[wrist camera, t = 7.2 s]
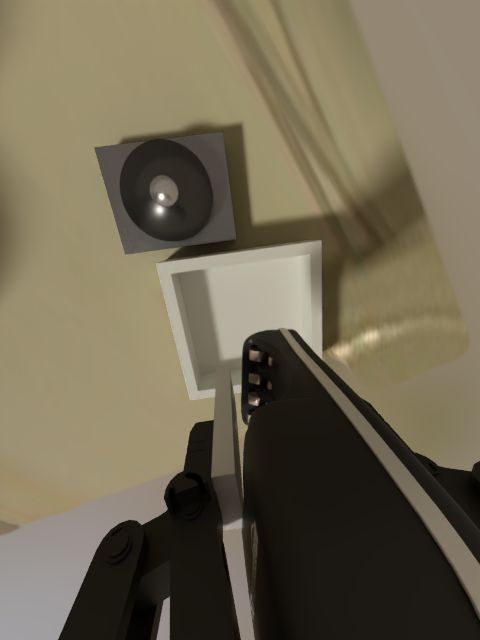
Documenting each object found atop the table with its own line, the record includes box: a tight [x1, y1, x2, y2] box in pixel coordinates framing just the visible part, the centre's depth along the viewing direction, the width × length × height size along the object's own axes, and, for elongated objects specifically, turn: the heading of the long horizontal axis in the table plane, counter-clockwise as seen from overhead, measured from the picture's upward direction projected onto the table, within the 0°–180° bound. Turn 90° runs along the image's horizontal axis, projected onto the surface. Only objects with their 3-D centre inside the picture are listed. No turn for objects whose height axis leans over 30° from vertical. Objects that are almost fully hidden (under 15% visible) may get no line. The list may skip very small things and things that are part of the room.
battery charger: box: [241, 328, 480, 640], centre depth 9 cm, size 7×4×11 cm, turn 179°
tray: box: [156, 240, 322, 401], centre depth 23 cm, size 14×14×4 cm
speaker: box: [94, 132, 236, 254], centre depth 19 cm, size 10×8×4 cm
